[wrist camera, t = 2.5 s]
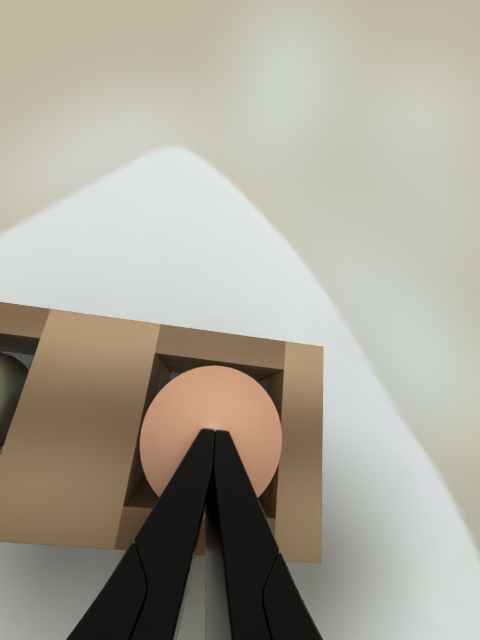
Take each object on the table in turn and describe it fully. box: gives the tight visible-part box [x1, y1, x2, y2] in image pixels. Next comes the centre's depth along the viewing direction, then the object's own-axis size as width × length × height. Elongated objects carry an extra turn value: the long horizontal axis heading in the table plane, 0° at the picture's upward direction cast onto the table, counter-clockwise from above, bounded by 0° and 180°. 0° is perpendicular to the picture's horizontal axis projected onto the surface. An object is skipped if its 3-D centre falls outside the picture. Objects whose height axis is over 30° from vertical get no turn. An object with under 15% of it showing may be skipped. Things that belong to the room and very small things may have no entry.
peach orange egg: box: [140, 366, 282, 519], centre depth 11 cm, size 4×4×5 cm
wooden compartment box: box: [0, 302, 323, 563], centre depth 13 cm, size 8×19×6 cm, turn 84°
